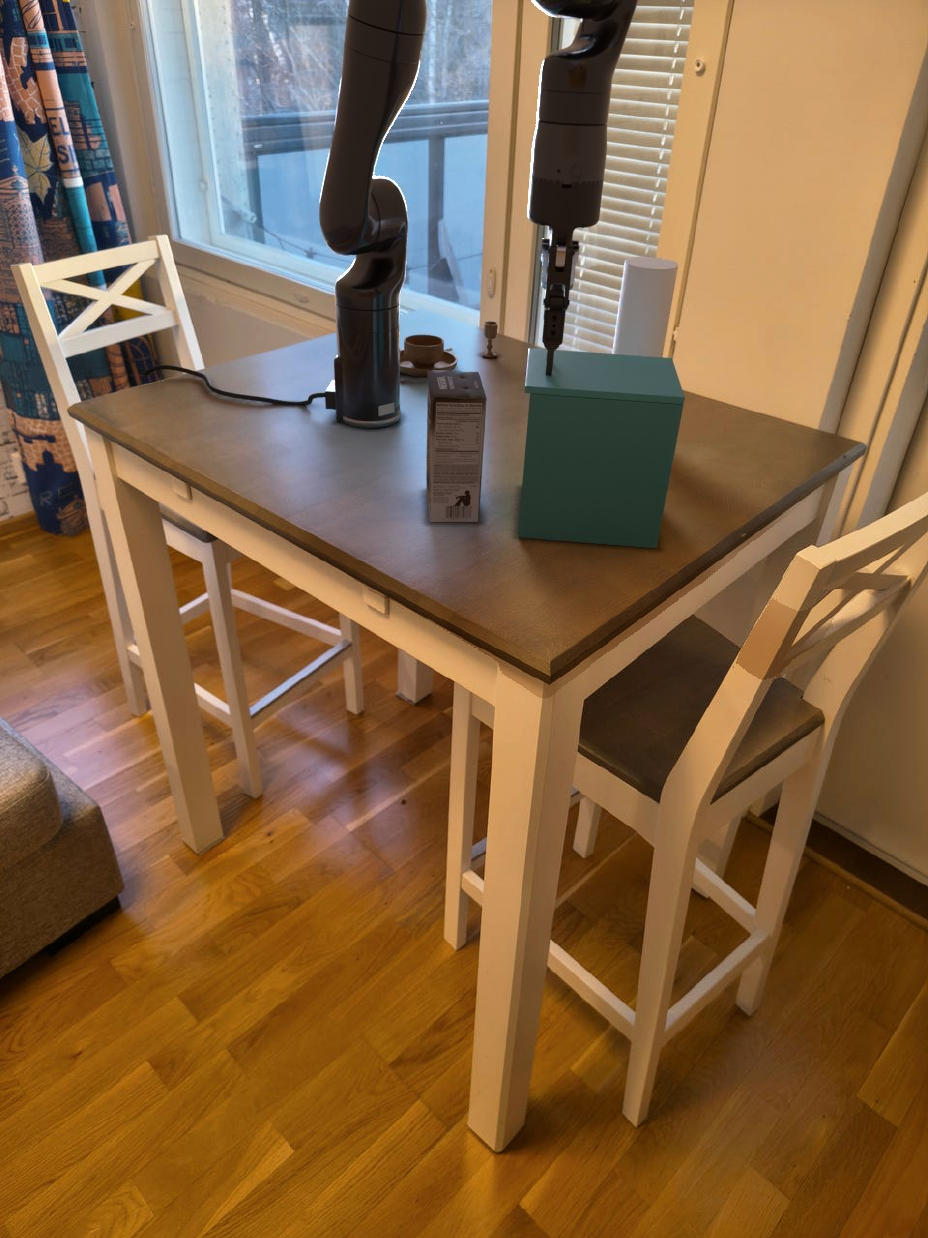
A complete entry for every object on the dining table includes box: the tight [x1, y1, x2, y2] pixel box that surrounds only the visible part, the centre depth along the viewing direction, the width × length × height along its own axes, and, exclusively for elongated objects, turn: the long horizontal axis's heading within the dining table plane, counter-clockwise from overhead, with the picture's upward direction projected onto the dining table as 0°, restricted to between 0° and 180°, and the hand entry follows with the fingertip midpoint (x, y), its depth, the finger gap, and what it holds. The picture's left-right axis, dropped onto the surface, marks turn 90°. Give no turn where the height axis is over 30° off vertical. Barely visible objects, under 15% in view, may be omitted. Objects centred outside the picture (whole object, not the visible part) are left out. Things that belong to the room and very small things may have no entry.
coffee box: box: [425, 370, 488, 523], centre depth 108 cm, size 9×6×16 cm
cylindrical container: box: [611, 256, 679, 357], centre depth 127 cm, size 7×7×25 cm
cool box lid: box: [524, 343, 686, 405], centre depth 100 cm, size 17×14×5 cm
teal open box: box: [517, 393, 684, 549], centre depth 107 cm, size 17×14×18 cm
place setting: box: [400, 320, 499, 382], centre depth 155 cm, size 18×20×6 cm
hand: (552, 332), depth 99 cm, fingers open, 8 cm apart
